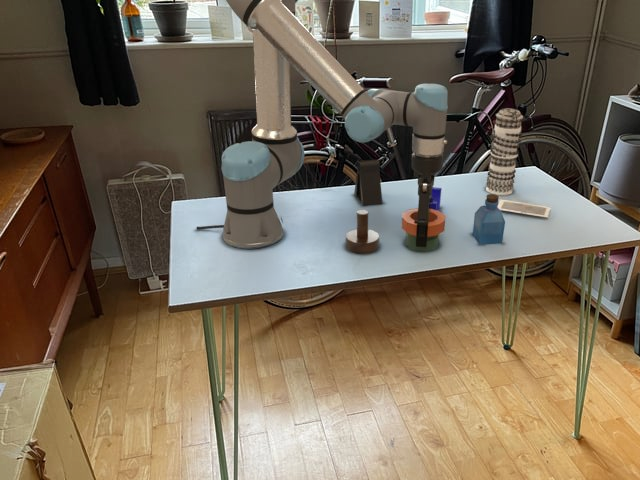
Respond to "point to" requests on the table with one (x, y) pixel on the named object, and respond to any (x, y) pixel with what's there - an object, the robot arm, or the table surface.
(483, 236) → the perfume bottle
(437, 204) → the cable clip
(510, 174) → the decorative candle
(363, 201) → the phone stand
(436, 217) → the ring
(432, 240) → the sage peg
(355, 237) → the walnut peg
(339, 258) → the table surface
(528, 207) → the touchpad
